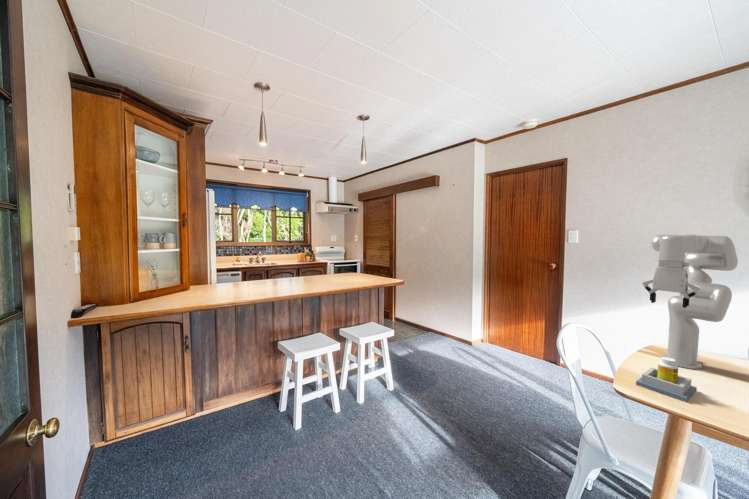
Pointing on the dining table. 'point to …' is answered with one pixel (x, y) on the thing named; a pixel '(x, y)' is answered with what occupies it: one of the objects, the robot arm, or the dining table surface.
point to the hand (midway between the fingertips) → (668, 304)
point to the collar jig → (667, 385)
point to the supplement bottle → (668, 370)
